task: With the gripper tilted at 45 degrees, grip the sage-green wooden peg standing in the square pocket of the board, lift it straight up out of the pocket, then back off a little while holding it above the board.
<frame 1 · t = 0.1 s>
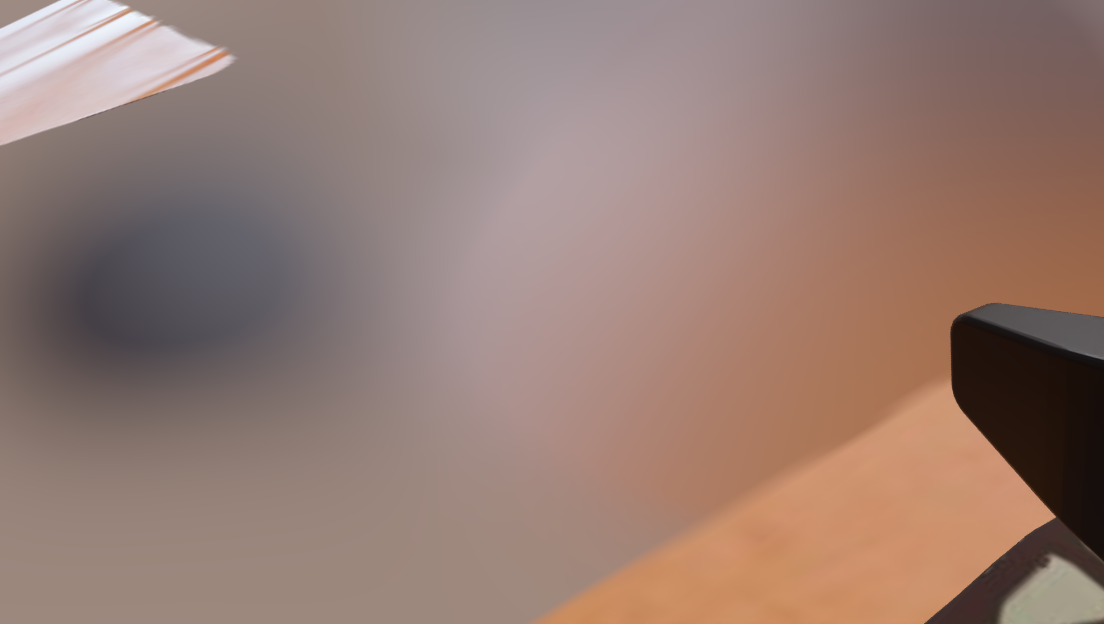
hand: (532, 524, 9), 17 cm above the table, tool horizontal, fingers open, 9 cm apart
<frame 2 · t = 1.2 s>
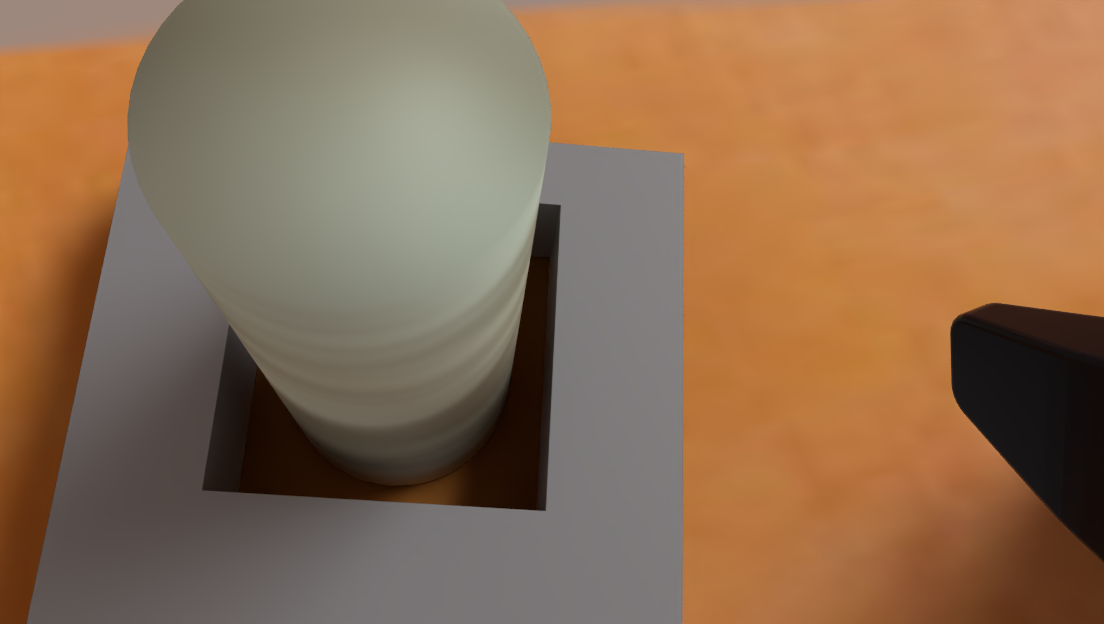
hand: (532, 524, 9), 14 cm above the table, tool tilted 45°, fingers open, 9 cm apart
peg: (401, 378, 23), resting in pocket board
pocket board: (387, 517, 22), on the table
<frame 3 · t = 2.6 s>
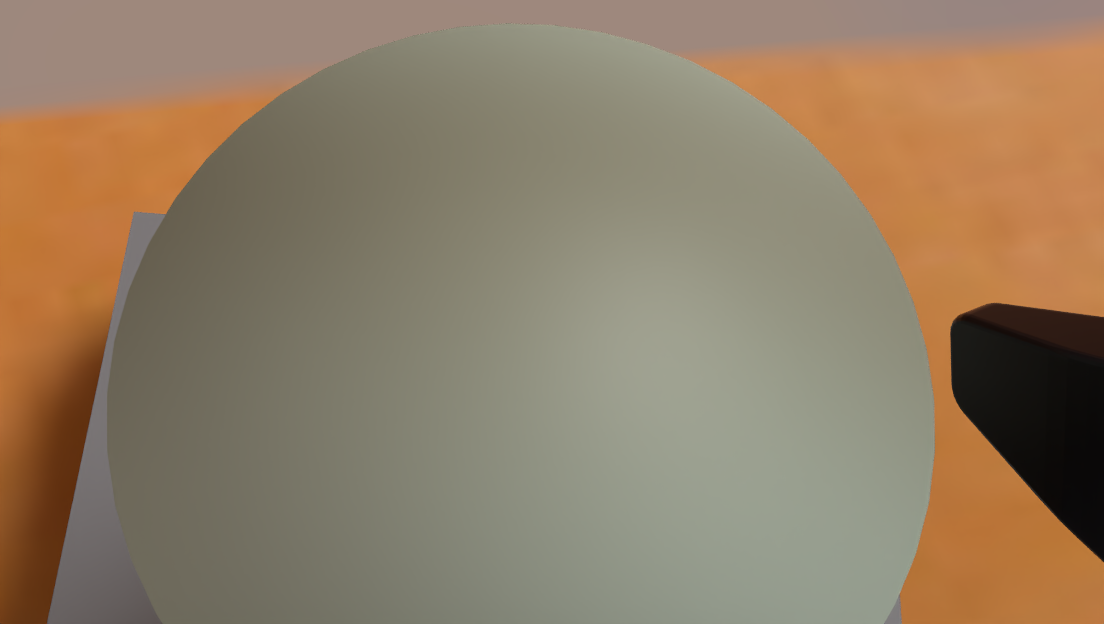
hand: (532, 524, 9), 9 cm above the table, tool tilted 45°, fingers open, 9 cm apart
peg: (489, 566, 17), resting in pocket board
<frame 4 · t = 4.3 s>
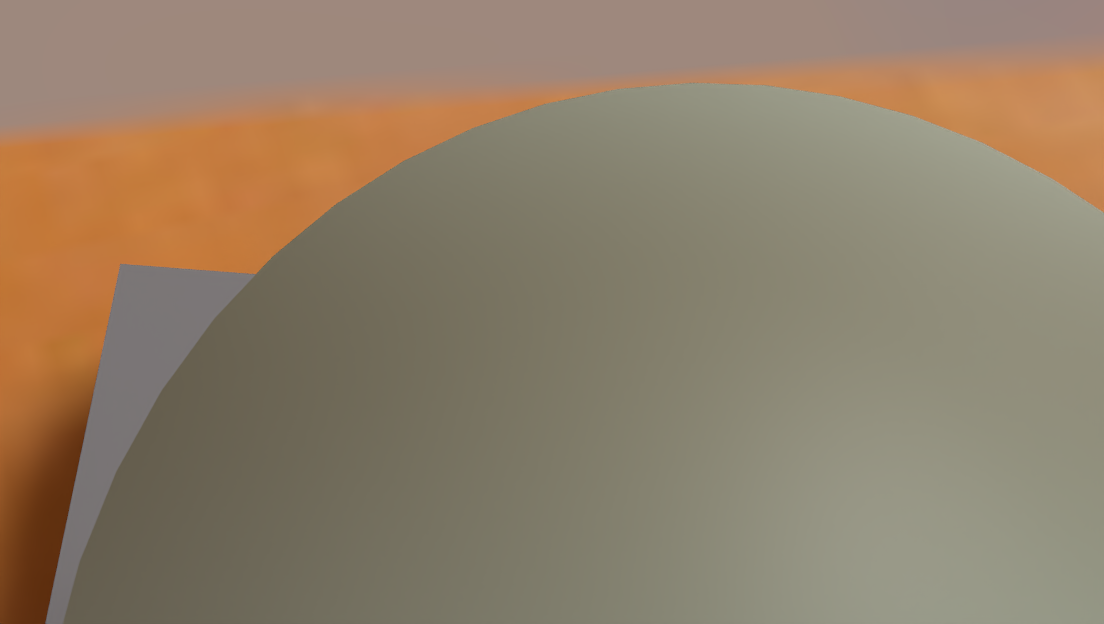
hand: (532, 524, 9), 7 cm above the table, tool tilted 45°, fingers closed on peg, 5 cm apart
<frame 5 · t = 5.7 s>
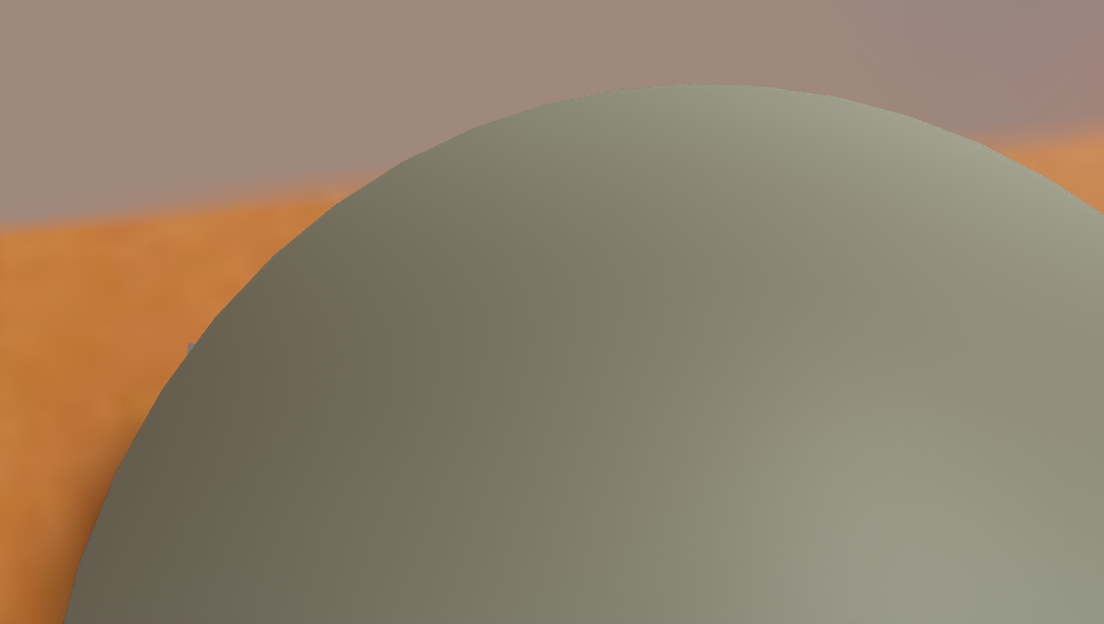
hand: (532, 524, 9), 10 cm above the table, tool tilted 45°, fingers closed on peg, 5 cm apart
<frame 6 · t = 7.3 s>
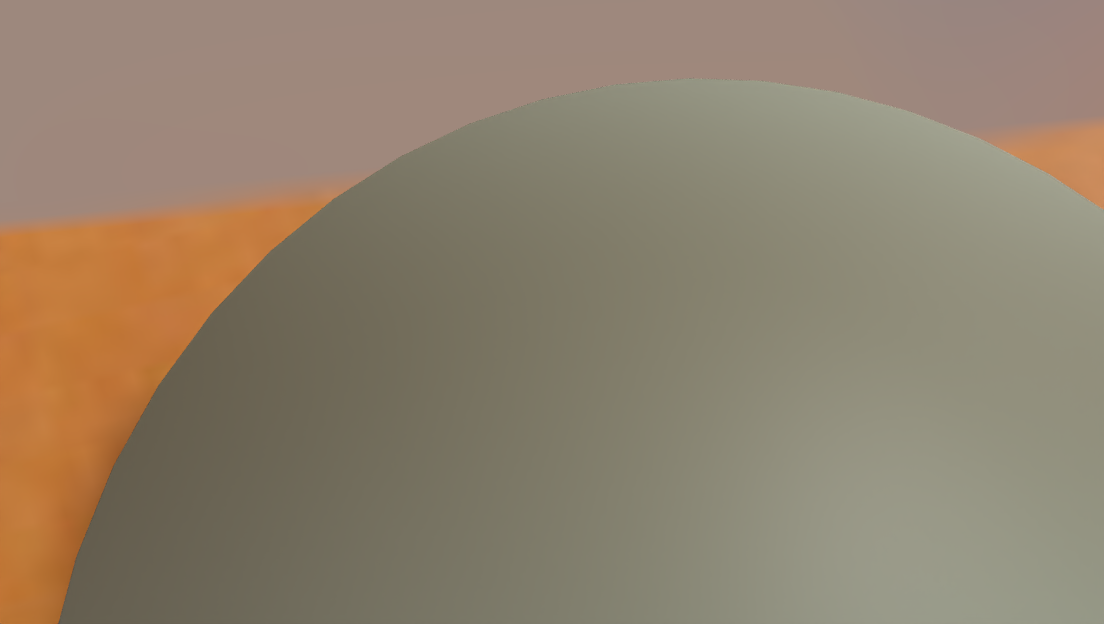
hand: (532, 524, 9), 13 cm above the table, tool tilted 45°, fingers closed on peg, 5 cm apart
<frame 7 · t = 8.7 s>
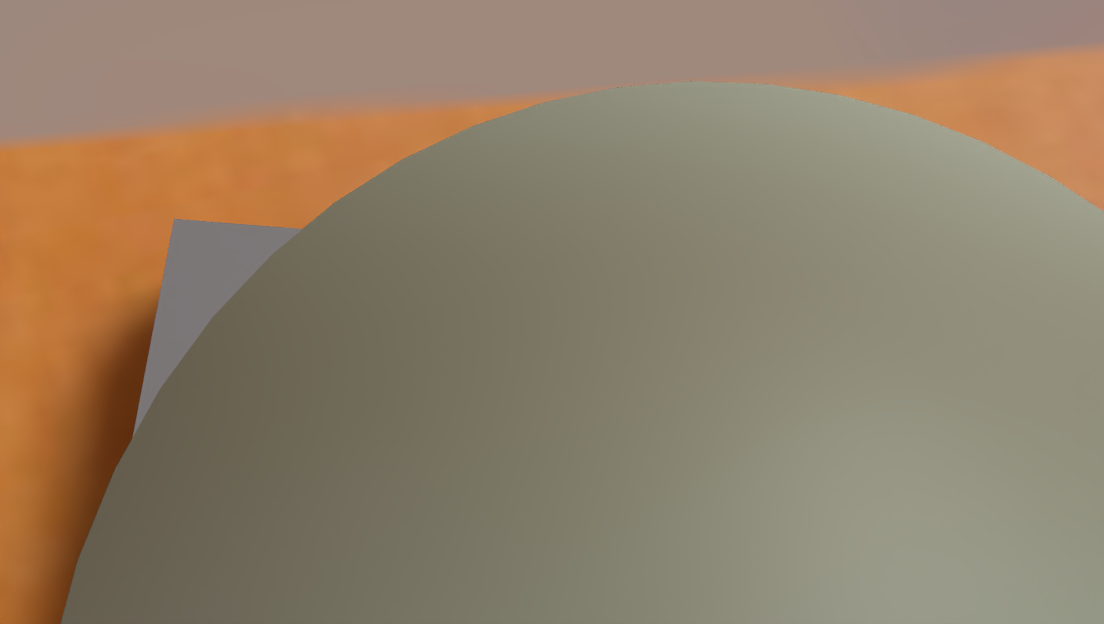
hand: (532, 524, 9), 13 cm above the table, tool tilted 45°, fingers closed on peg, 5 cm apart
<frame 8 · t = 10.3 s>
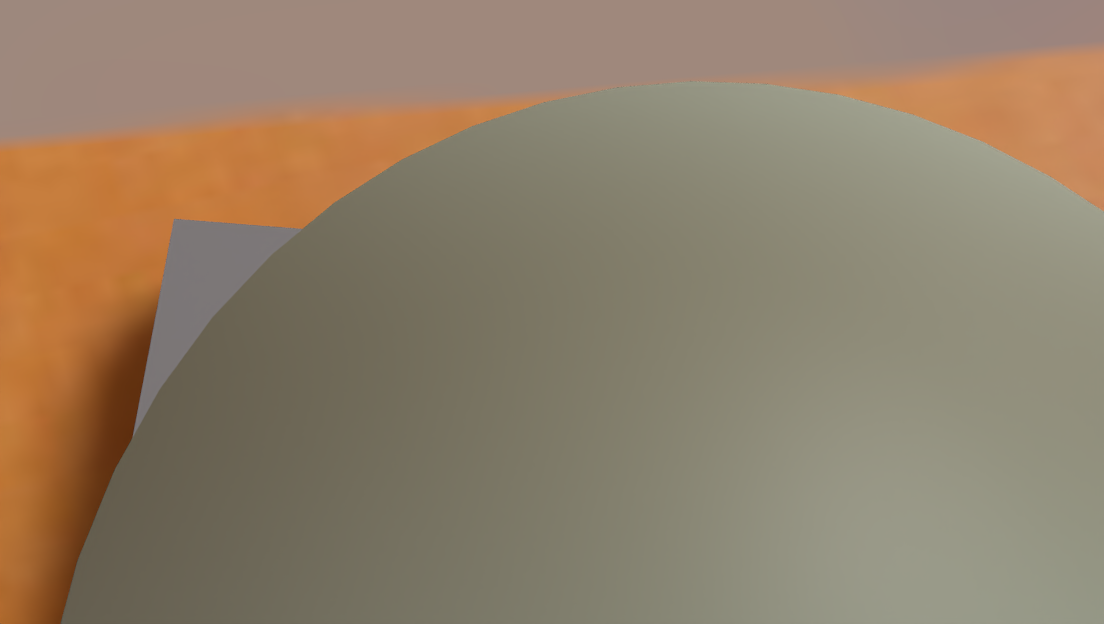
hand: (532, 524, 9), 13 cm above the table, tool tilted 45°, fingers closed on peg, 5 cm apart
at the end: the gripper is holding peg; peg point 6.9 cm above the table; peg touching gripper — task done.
